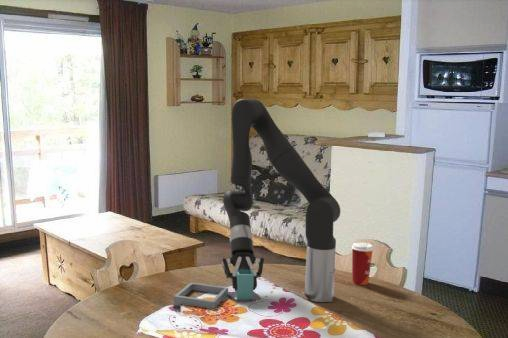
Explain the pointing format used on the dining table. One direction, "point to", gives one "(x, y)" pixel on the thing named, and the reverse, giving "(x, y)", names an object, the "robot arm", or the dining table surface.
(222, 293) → the charcoal tray
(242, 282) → the teal sleeve
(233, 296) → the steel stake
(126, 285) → the dining table surface
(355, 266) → the paper cup
